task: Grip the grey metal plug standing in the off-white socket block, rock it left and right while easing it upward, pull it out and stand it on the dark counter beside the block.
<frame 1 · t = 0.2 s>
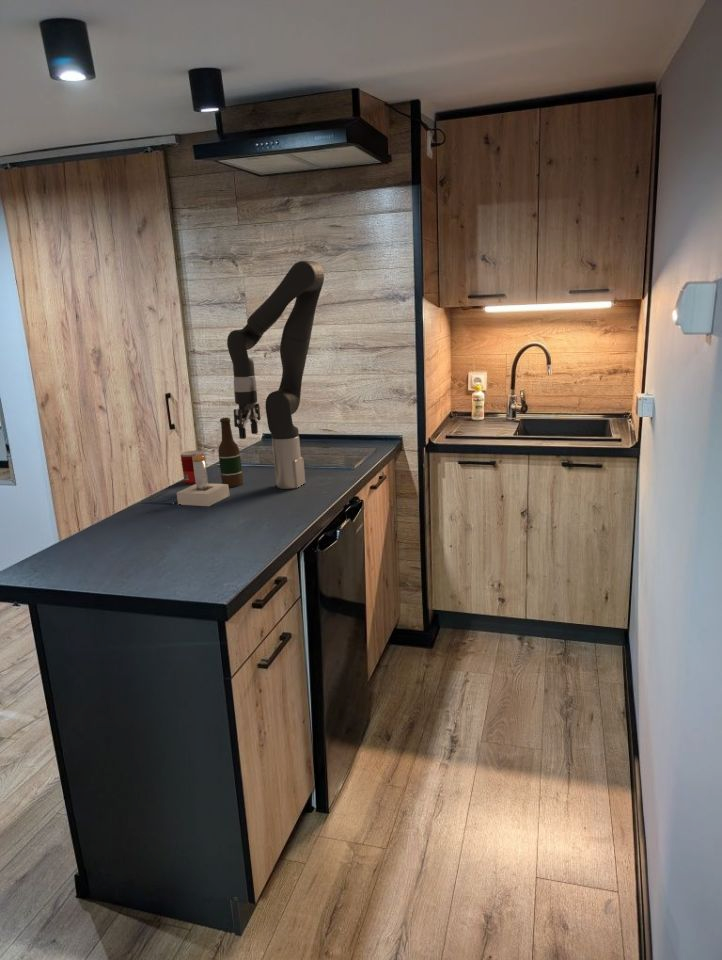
hand: (248, 436, 234), 18 cm above the countertop, tool pointing down, fingers open, 8 cm apart
plug: (201, 478, 221), in the socket block
beer bottle: (232, 485, 241), on the countertop
socket block: (204, 500, 223), on the countertop
canned food: (195, 482, 249), on the countertop
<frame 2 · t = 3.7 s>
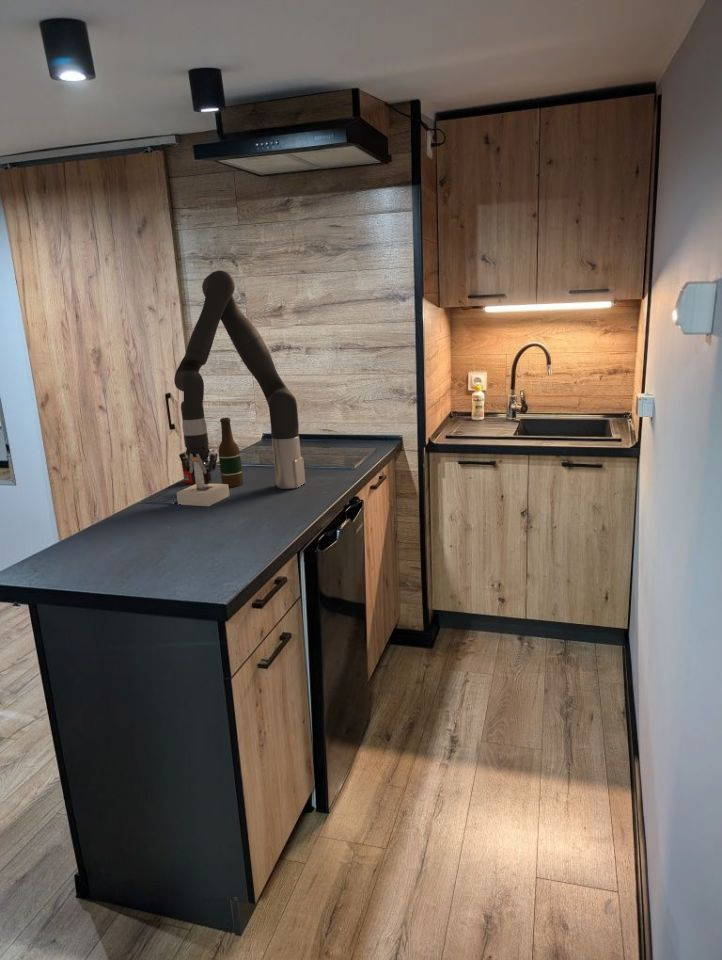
hand: (201, 483, 222), 6 cm above the countertop, tool pointing down, fingers closed on plug, 4 cm apart
plug: (201, 478, 221), in the socket block, touching gripper
everything else where it was.
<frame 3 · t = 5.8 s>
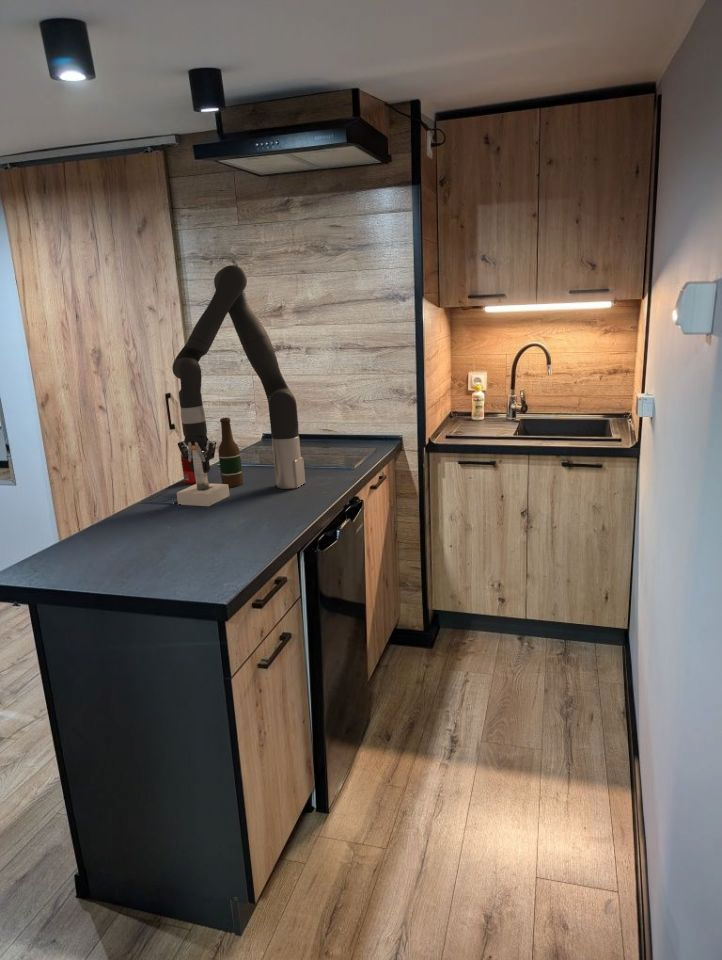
hand: (200, 471, 221), 10 cm above the countertop, tool pointing down, fingers closed on plug, 4 cm apart
plug: (200, 466, 220), point 11 cm above the countertop, touching gripper
everything else where it was.
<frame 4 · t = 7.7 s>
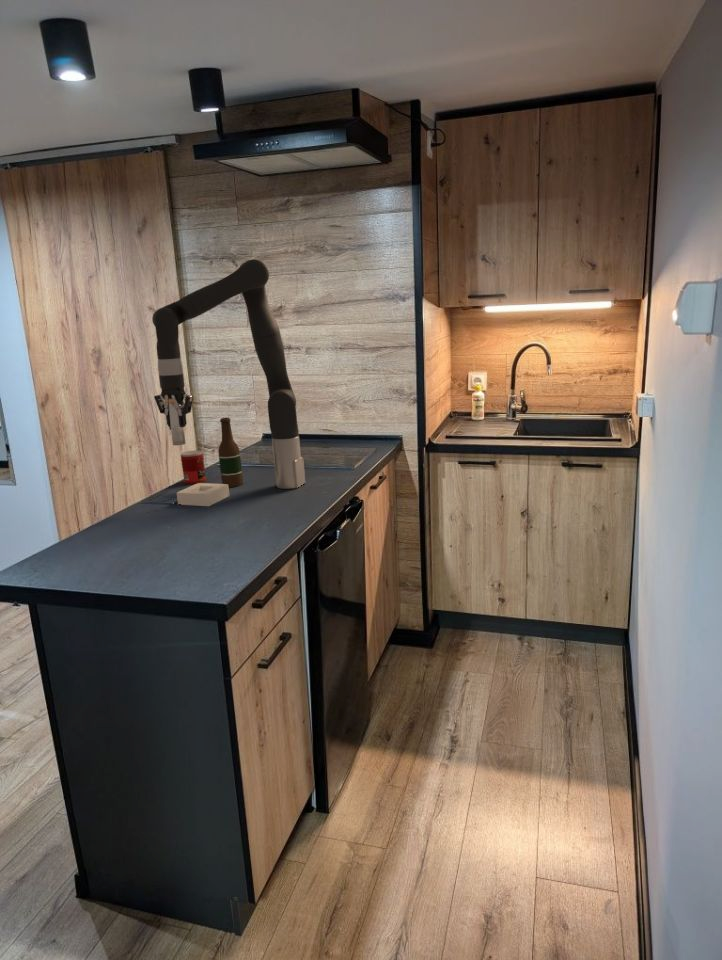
hand: (177, 426, 217), 25 cm above the countertop, tool pointing down, fingers closed on plug, 4 cm apart
plug: (176, 421, 217), point 27 cm above the countertop, touching gripper
everything else where it was.
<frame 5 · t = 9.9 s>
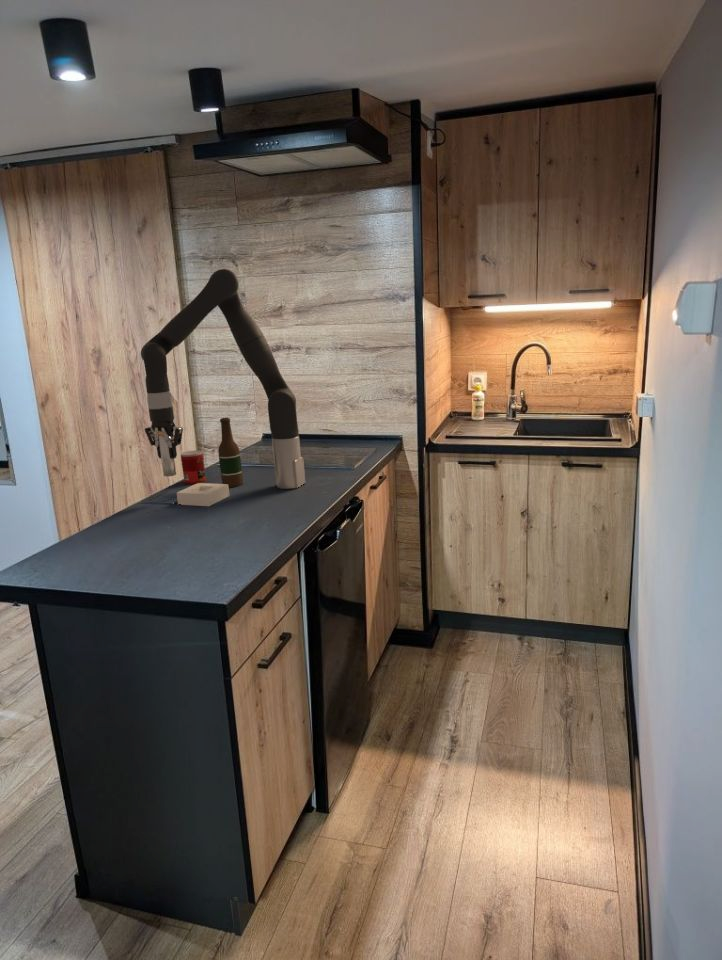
hand: (167, 457, 221), 15 cm above the countertop, tool pointing down, fingers closed on plug, 4 cm apart
plug: (166, 452, 220), point 16 cm above the countertop, touching gripper
everything else where it was.
when the fingers open (7 cm above the countertop, at t = 11.8 s): plug stays where it is, on the countertop.
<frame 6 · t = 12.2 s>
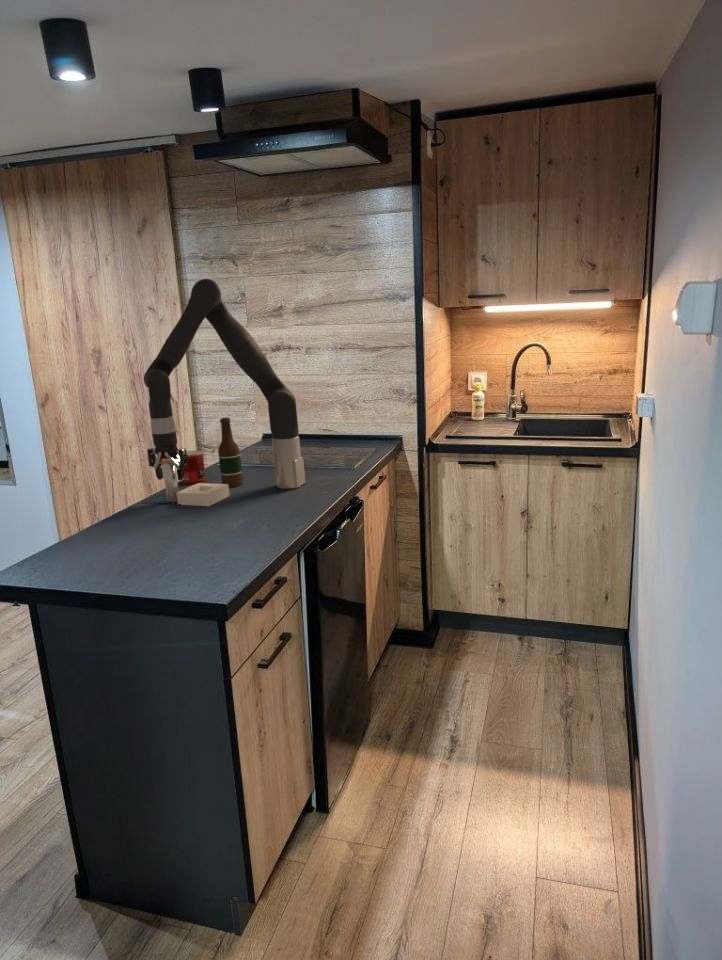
hand: (170, 479, 223), 8 cm above the countertop, tool pointing down, fingers open, 8 cm apart
plug: (170, 479, 223), on the countertop
everything else where it was.
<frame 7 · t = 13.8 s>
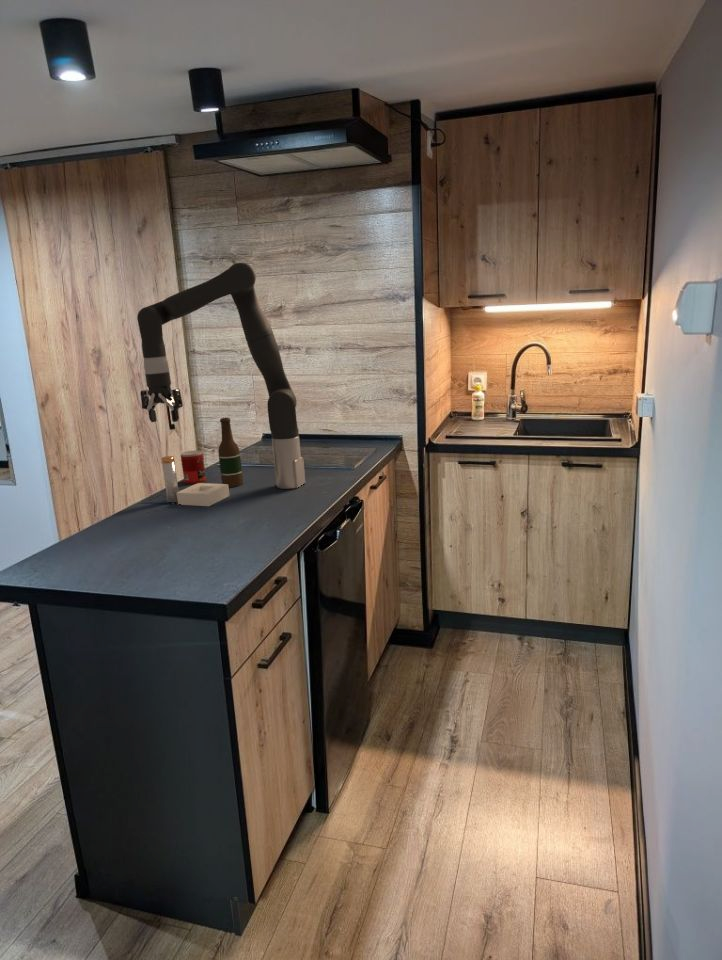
hand: (164, 421, 219), 27 cm above the countertop, tool pointing down, fingers open, 8 cm apart
nothing on the countertop moved.
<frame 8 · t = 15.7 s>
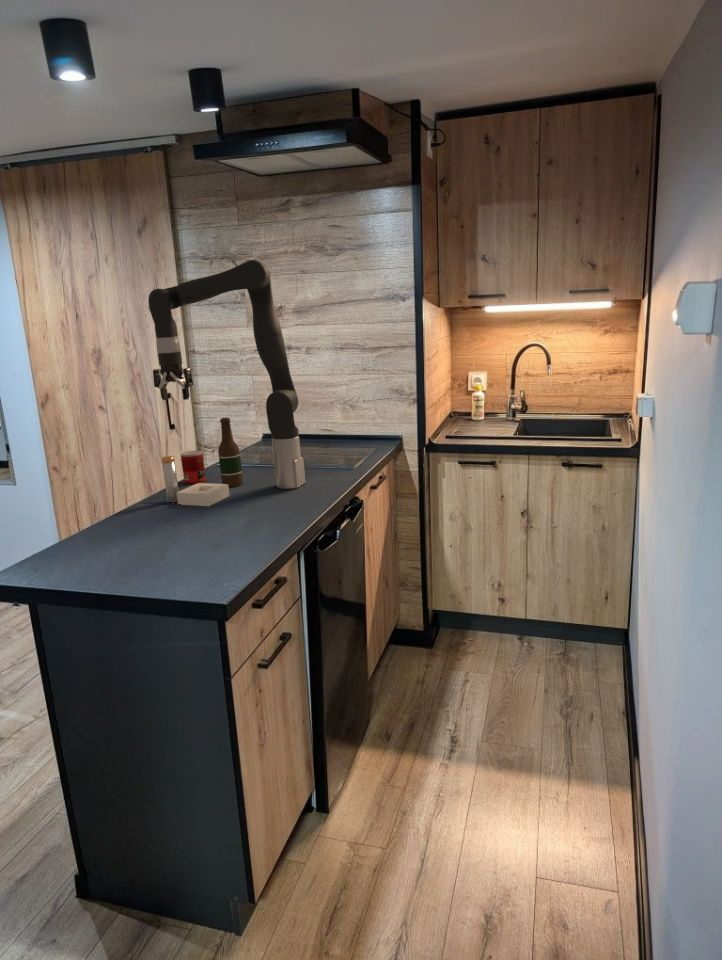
hand: (175, 399, 228), 32 cm above the countertop, tool pointing down, fingers open, 8 cm apart
nothing on the countertop moved.
at the end: plug inside the target area (0.0 cm from its centre), on the countertop; plug tilted 0°; the gripper is holding nothing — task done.
